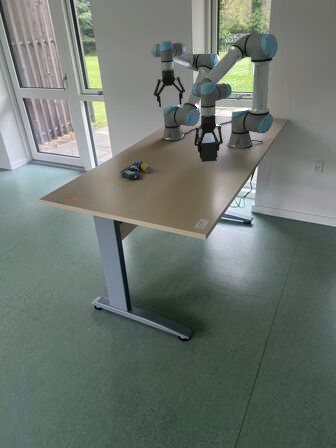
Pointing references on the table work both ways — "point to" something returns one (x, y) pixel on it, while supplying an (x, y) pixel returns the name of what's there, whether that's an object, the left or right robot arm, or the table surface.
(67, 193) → the table surface
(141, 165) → the spray gun
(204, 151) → the box
